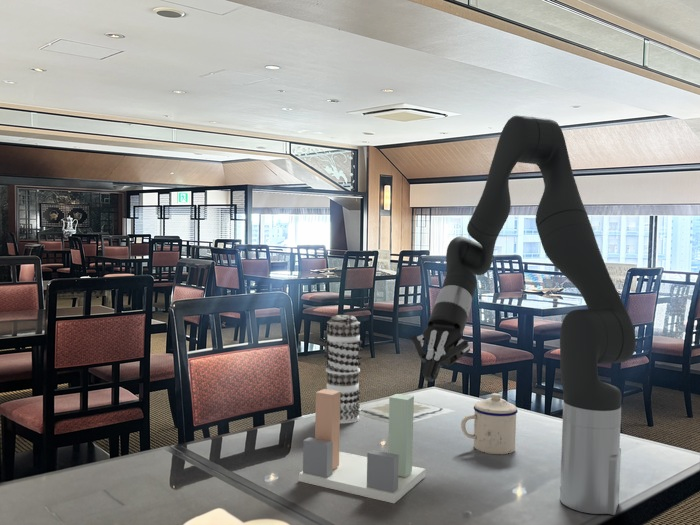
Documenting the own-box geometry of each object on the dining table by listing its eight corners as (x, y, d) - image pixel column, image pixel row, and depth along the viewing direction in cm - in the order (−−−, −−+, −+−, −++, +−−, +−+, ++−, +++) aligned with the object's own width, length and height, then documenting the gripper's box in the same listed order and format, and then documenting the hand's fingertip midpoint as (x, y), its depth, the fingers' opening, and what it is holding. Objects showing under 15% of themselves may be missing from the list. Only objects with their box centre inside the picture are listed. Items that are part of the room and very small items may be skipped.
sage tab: (412, 471, 120) (413, 396, 120) (405, 477, 118) (407, 399, 117) (394, 468, 122) (396, 393, 121) (387, 473, 119) (389, 397, 119)
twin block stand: (425, 476, 123) (426, 437, 123) (394, 503, 111) (395, 459, 110) (336, 458, 132) (337, 421, 131) (298, 481, 120) (299, 440, 119)
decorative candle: (348, 426, 153) (350, 319, 152) (315, 419, 158) (317, 316, 157) (367, 417, 161) (370, 315, 160) (336, 411, 166) (338, 312, 165)
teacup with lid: (505, 440, 145) (507, 388, 145) (523, 454, 136) (525, 399, 136) (453, 442, 143) (455, 389, 143) (468, 457, 134) (470, 400, 134)
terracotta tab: (339, 465, 123) (340, 391, 122) (331, 470, 120) (332, 394, 119) (322, 462, 124) (324, 388, 124) (314, 466, 122) (315, 392, 121)
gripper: (417, 298, 141) (392, 364, 131) (477, 302, 135) (456, 372, 125) (426, 319, 146) (402, 385, 136) (484, 325, 140) (464, 394, 130)
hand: (428, 379), depth 131 cm, fingers closed
